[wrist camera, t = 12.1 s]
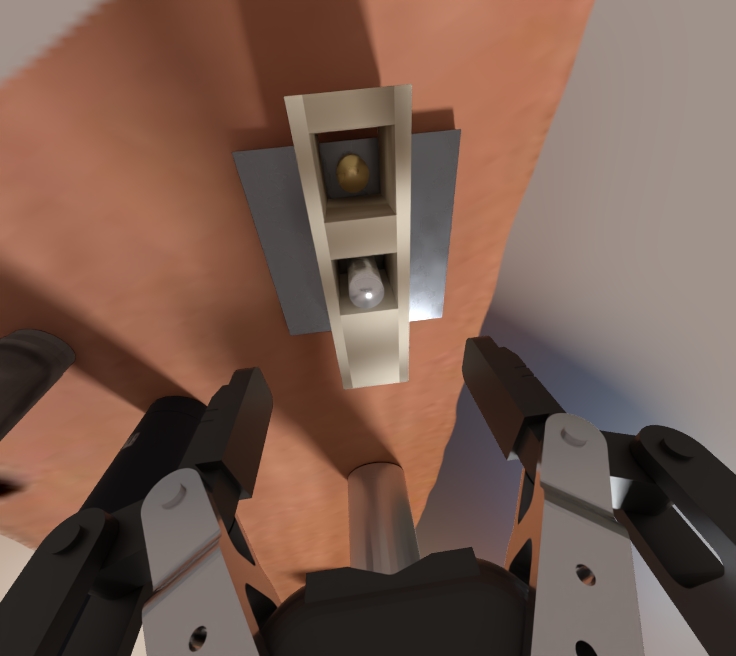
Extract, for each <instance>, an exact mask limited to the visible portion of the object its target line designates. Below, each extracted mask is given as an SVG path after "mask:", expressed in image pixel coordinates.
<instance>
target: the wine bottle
mask: <svg viewBox="0 0 736 656" xmlns="http://www.w3.org/2000/svg"><path fill="white" fill-rule="evenodd" d="M206 409H207V407H206V406H205V405H204V404H202V403H200V402H198V401H196V400H193V399H190V398H186V397H178V396H171V397H164V398H161V399H158V400H156V401H155V402H154V403H153V404H152V405H151V406H150V408H149V409H148V411H147V412H146V414H145V415H144V416H143V418H142V419H141V421H140V422H139V424H138V425H137V427H136V428H135V430H134V431H133V433H132V434H131V435H130V437H129V438H128V440H127V441H126V443H125V444H124V446H123V447H122V449H121V450H120V451H119V453H118V454H117V456H116V457H115V459H114V460H113V462H112V463H111V465H110V466H109V467H108V469H107V470H106V472H105V473H104V475H103V476H102V478H101V479H100V481H99V482H98V484H97V485H96V486H95V488H94V489H93V491H92V492H91V494H90V495H89V497H88V498H87V500H86V501H85V502H84V504H83V505H82V507H81V508H80V510H79V511H78V512H80V511H82V510H85V509H88V508H99V509H102V510H103V511H105V512H107V513H108V514H111V513H113V512H115V511H118V510H120V509H122V508H124V507H127V506H129V505H131V504H133V503H135V502H138V501H140V500H142V499H144V498H146V496H147V495H148V493H149V492H150V491H151V489H152V488H153V487H154V486H155V485H156V484H157V483H158V482H159V481H160V480H161V479H163V478H164V477H165V476H167V475H169V474H170V473H172V472H174V471H177V469H178V467H179V465H180V463H181V461H182V459H183V457H184V455H185V453H186V451H187V449H188V447H189V444H190V442H191V440H192V438H193V436H194V434H195V432H196V430H197V428H198V426H199V424H201V419H202V417H203V415H204V413H206ZM90 597H91V595H89V594H87V596H86V598H85V600H84V602H83V604H82V606H81V608H80V610H79V612H78V614H77V616H76V618H75V620H74V622H73V624H72V626H71V628H70V630H69V632H68V634H67V636H66V638H65V640H64V642H63V644H62V646H61V648H60V650H59V652H58V654H57V656H62V654H63V652H64V650H65V648H66V646H67V644H68V642H69V640H70V638H71V636H72V634H73V632H74V630H75V627H76V625H77V623H78V621H79V619H80V617H81V615H82V613H83V611H84V609H85V607H86V605H87V603H88V601H89V599H90Z"/></svg>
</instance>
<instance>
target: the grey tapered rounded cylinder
mask: <svg viewBox="0 0 736 656" xmlns="http://www.w3.org/2000/svg"><path fill="white" fill-rule="evenodd" d="M74 361H75V354H74V351H73V350H72V349H71V348H70V346H69V345H67V344H66V343H65V342H64V341H62V340H61V339H59V338H57V337H55V336H53V335H51V334H48V333H46V332H43V331H38V330H33V329H21V330H18V331H15V332H13V333H11V334H10V335H8V336H5V337H3V338H1V339H0V441H1V440H2V439H3V438H4V437H5V436H6V435H7V433H8V432H9V431H10V430H11V429H12V428H13V427H14V426H15V425H16V424H17V423H18V422H19V421H20V420H21V419H22V418H23V417H24V416H25V414H26V413H27V412H28V411H29V410H30V409H31V408H32V407H33V406H34V405H35V404H36V403H37V402H38V401H39V400H40V399H41V398H42V397H43V395H44V394H45V393H46V392H47V391H48V390H49V389H50V388H51V387H52V386H53V385H54V384H55V383H56V382H57V381H58V380H59V379H60V378H61V376H62V375H63V373H64V372H65V371H66V370H67V369H68V368H69V366H70V365H71V364H72V363H73V362H74Z"/></svg>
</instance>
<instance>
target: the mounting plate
mask: <svg viewBox="0 0 736 656" xmlns="http://www.w3.org/2000/svg"><path fill="white" fill-rule="evenodd" d="M460 135H461V129H454V130H444V131H434V132H425V133H415V134H411V212H410V299H409V321H416V320H424V319H432V318H441V317H442V312H443V302H444V292H445V282H446V273H447V263H448V253H449V243H450V233H451V224H452V214H453V204H454V194H455V184H456V175H457V165H458V155H459V145H460ZM319 147H320V153H321V159H322V166H323V172H324V178H325V185H326V191H327V197H328V199H334V198H344V197H353V196H362V195H371V194H380V193H381V189H380V168H379V148H378V137H375V138H365V139H355V140H345V141H335V142H325V143H319ZM232 155H233V158H234V161H235V164H236V167H237V170H238V174H239V177H240V180H241V183H242V186H243V189H244V192H245V195H246V198H247V202H248V205H249V208H250V211H251V214H252V217H253V220H254V223H255V226H256V230H257V233H258V236H259V239H260V242H261V245H262V248H263V251H264V254H265V258H266V261H267V264H268V267H269V270H270V273H271V276H272V279H273V282H274V286H275V289H276V292H277V295H278V298H279V301H280V304H281V307H282V310H283V314H284V317H285V320H286V323H287V326H288V329H289V332H290V335H299V334H307V333H315V332H324V331H332V329H331V324H330V320H329V315H328V310H327V305H326V300H325V295H324V290H323V285H322V280H321V276H320V271H319V266H318V261H317V256H316V251H315V246H314V241H313V236H312V232H311V227H310V222H309V217H308V212H307V207H306V202H305V197H304V193H303V188H302V183H301V178H300V173H299V168H298V163H297V158H296V153H295V149H294V146H285V147H276V148H266V149H256V150H246V151H236V152H232ZM337 261H338V267H339V273H340V274H347V273H348V286H349V297H350V300H351V301H352V303H353V304H354V305H356V306H357V307H360V308H365V309H367V308H372V307H375V306H376V305H378V304H379V303H380V302H381V301H382V299H383V297H384V287H383V284H382V281H381V277H380V274H379V271H378V270H381V269H384V254H378V255H369V256H361V257H352V258H343V259H337Z"/></svg>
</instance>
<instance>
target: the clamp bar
mask: <svg viewBox="0 0 736 656" xmlns="http://www.w3.org/2000/svg"><path fill="white" fill-rule="evenodd" d="M284 100H285V105H286V109H287V114H288V119H289V124H290V129H291V134H292V139H293V144H294V149H295V153H296V158H297V163H298V168H299V173H300V178H301V183H302V188H303V193H304V197H305V202H306V207H307V212H308V217H309V222H310V227H311V232H312V236H313V241H314V246H315V251H316V256H317V261H318V266H319V271H320V276H321V280H322V285H323V290H324V295H325V300H326V305H327V310H328V315H329V320H330V324H331V329H332V334H333V339H334V344H335V349H336V354H337V359H338V364H339V368H340V373H341V378H342V383H343V388H344V389H352V388H360V387H367V386H375V385H383V384H391V383H399V382H407V381H409V299H410V212H411V125H412V84H406V85H396V86H386V87H376V88H365V89H355V90H345V91H335V92H325V93H315V94H305V95H294V96H284ZM374 127H378V148H379V168H380V189H381V193H380V194H371V195H362V196H353V197H344V198H334V199H328V197H327V191H326V185H325V178H324V172H323V166H322V159H321V153H320V147H319V140H318V134H317V133H325V132H335V131H345V130H355V129H364V128H374ZM378 254H384V269H381V270H378V271H379V274H380V277H381V281H382V284H383V287H384V297H383V299H382V301H381V302H380V303H379V304H378V305H376V306H375V307H372V308H367V309H365V308H360V307H357V306H356V305H354V304H353V303H352V301H351V300H350V297H349V286H348V273H347V274H340V273H339V267H338V261H337V259H343V258H352V257H361V256H369V255H378Z"/></svg>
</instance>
